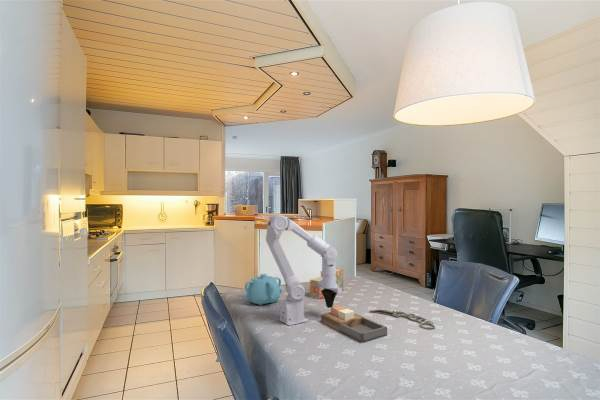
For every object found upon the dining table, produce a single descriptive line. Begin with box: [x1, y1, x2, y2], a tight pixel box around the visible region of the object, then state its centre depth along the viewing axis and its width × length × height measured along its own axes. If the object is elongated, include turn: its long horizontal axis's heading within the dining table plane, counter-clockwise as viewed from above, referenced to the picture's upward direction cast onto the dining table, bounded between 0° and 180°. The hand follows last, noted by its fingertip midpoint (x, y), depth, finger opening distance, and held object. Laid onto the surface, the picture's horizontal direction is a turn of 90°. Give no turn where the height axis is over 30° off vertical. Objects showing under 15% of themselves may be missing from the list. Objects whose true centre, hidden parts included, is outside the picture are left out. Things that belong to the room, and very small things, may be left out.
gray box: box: [339, 317, 388, 344], centre depth 120 cm, size 12×12×3 cm
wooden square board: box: [320, 311, 365, 332], centre depth 131 cm, size 12×12×3 cm
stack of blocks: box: [309, 267, 344, 300], centre depth 174 cm, size 21×6×12 cm, turn 139°
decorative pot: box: [243, 273, 283, 306], centre depth 162 cm, size 16×16×14 cm
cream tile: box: [338, 308, 355, 320], centre depth 129 cm, size 4×4×3 cm
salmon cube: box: [330, 304, 347, 317], centre depth 133 cm, size 4×4×3 cm
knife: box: [369, 309, 436, 331], centre depth 136 cm, size 28×2×10 cm
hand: (329, 307), depth 138 cm, fingers closed
